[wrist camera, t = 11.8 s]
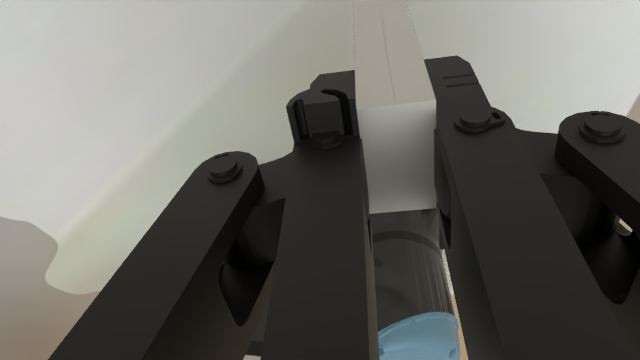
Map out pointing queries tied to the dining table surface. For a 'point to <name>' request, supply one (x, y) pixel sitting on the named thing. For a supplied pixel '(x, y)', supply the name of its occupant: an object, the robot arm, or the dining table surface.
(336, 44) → the dining table surface
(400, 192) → the robot arm
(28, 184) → the dining table surface
